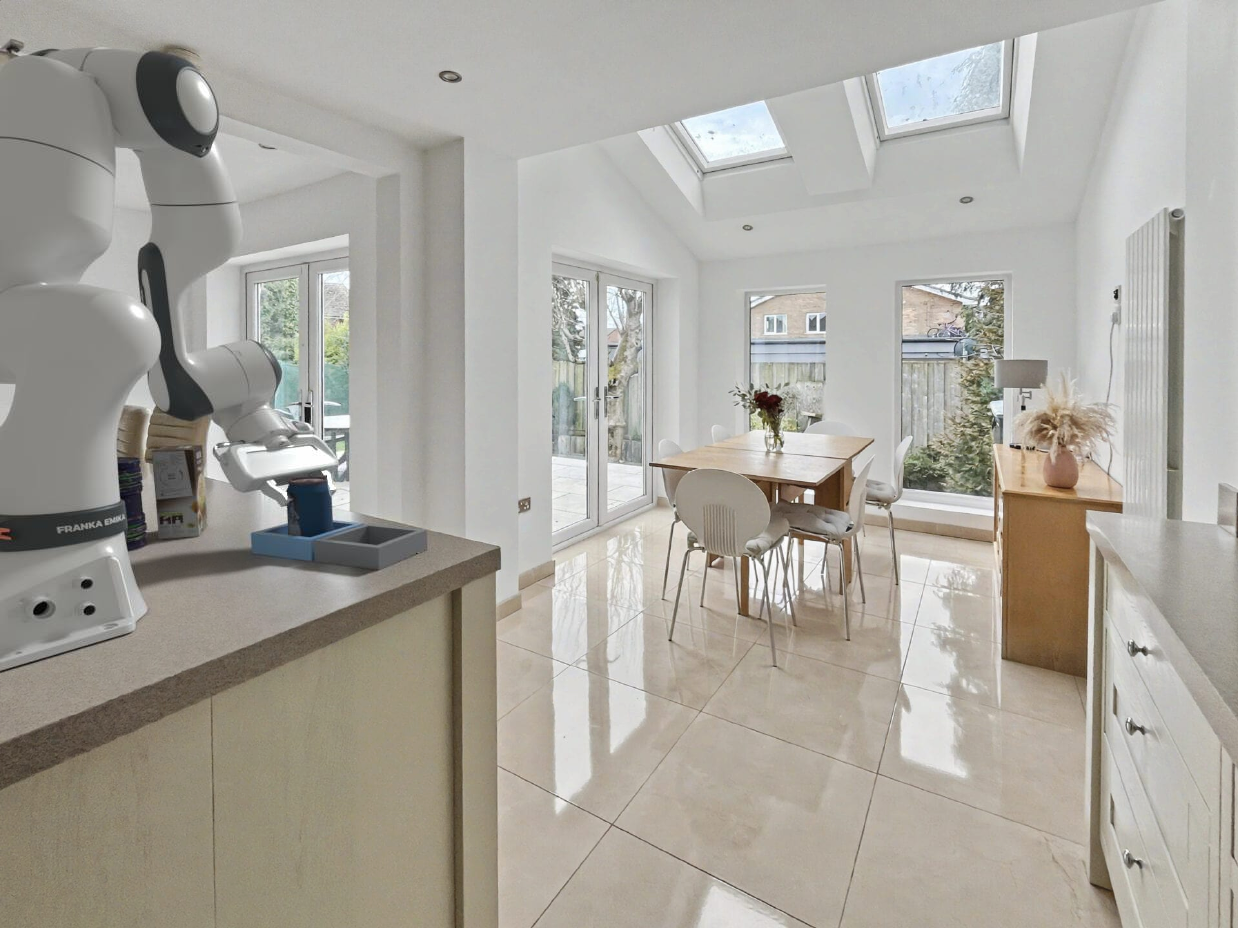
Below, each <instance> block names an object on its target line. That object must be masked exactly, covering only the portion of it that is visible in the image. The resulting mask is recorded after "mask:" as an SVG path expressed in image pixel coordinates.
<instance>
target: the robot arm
mask: <svg viewBox="0 0 1238 928" xmlns="http://www.w3.org/2000/svg"><path fill="white" fill-rule="evenodd" d="M218 104H219V103H218V100H217V97H216V95H215V92H214V90H213V88H212V86H211V84H210V82H209V81H208V79H207V78H206V77H205V76H204V75H203V74H202V72H201V71H200V70H199V69H198V68H197V67H196V65H194V64H193V63H192V62H191V61H190V60H188V59H186V58H183V57H181V56H178V55H175V54H171V53H167V52H163V51H159V50H158V51H157V50H151V51H148V52H145V51H138V50H131V49H119V48H109V47H104V46H95V47H94V46H91V47H90V46H89V47H88V46H87V47H78V48H77V47H76V48H67V49H59V48H46V49H41V50H37V51H35V52H33V53H30V54H27V55H18V56H16V57H12V58H10V59H8V60H7V61H6V62H5V63H4V64H3V65H2V67H1V68H0V385H15V386H14V387H15V389H14V394H13V399H12V402H11V406H10V408H9V411H8V413H7V416H6V418H5V420H4V421H3V422H2V425H0V672H1V671H4V670H7V669H10V668H11V669H12V668H13V667H17V666H20V665H24V664H27V663H30V662H34V661H37V660H42V659H45V658H48V657H51V656H54V655H59V654H62V653H65V652H68V651H72V650H75V649H78V648H82V647H85V646H89V645H92V644H95V643H98V642H103V641H105V640H108V639H112V638H116V637H119V636H123V635H127V634H128V633H131V632H133V631H135V630H136V628H137V624H136V623H137V621H138V620H139V619H141V618H142V617H143V616H144V615H145V614H146V613H147V612H148V605H147V604H146V602H145V600H144V598H143V596H142V594H141V592H140V588H139V587H138V584H137V582H136V578H135V577H136V576H135V575H134V572H133V567H132V564H131V561H130V556H129V552H128V550H127V545H126V540H127V532H128V525H127V515H126V508H125V501H123V500H122V499H120V492H119V480H118V464H117V457H118V449H117V446H118V445H117V442H118V440H117V439H118V431H119V426H120V422H121V416H122V414H123V410H124V408H125V405H126V403H127V400H128V397H129V396H130V394H131V392H132V390H133V388H134V387H135V385H136V384H137V383H138V381H140V380H141V379H142V377H144V376H145V375H146V374H147V377H146V378H147V385H148V390H149V394H150V396H151V398H152V401H153V403H154V404H155V406H156V407H157V409H158V410H159V411H160V412H161V413H162V414H163V413H164V414H165V415H167V416H169V417H173V418H175V419H178V420H182V421H186V422H195V421H197V420H200V419H201V418H205V417H206V416H208V417H209V418H210V419H211V421H212V422H213V423H214V424H216V425H217V426H218V427H220V428H221V429H222V430H223V432H224V436H225V438H226V440H228V442H224V441H222V442H217V443H216V445H214V446H213V448H212V455H213V457H215V459H216V460H217V461H218V462H219V466H220V468H221V471H222V473H223V475H225V477H226V479H227V481H228V483H230V485H231V487H232V488H233V489H234V490H235V491H238V492H240V493H241V494H244V493H250V492H255V491H260V492H261V493H262V494H263V495H265V496H267V497H268V498H271V499H272V500H274V501H276V502H277V504H278V505H279V506H280V507H281V508H283V507H284V508H285V507H287V506H289V505H291V503H292V502H293V501H294V498H293V497H292V496H291V494H290V493H289V492H286V491H283V490H282V489H281V488H279V487H282V486H287V485H288V486H289V484H290V480H291V479H295V478H301V477H324V478H327V482H328V484H329V485H330V487H331V491H332V496H334V494H335V493H336V492H337V488H336V487H335V486H334V484H333V483H332V475H333V474H334V473H335V471H336V470H337V469H338V468H339V466H340V463H339V459H338V457H337V455H336V454H335V453H334V452H333V450H332V449H331V448H330V447H329V446H328V444H327V443H326V442H325V441H324V440H323V439H322V438H321V437H319V436H317V435H316V434H314V432H315V429H314V427H313V426H312V425H311V424H310V423H308V422H304V421H298V420H295V419H291V418H288V417H286V416H283V415H282V416H281V415H279V414H278V413H277V412H276V411H275V410H274V409H273V408H272V407H271V406H270V403H269V401H270V400H272V399H273V398H274V396H275V395H276V393H277V390H278V388H279V386H280V384H281V382H282V378H283V370H282V366H281V364H280V363H279V361H278V359H277V358H276V356H275V355H274V354H273V352H272V351H271V350H269V348H267V346H265V345H264V344H262V343H260V342H258V341H256V340H253V339H244V340H238V341H234V342H229V343H224V344H221V345H218V346H215V347H210V348H206V349H205V348H204V349H201V350H197V351H196V350H195V351H192V352H187V344H186V343H187V342H186V337H185V336H186V334H185V327H184V318H183V308H182V302H183V299H184V296H185V294H186V292H187V290H189V288H190V287H191V286H192V285H193V284H194V283H195V282H197V281H198V280H199V279H201V278H203V276H205V275H207V274H209V273H210V272H212V271H214V270H215V269H218V268H219V267H221V266H222V265H224V264H225V263H227V262H228V261H229V260H230V259H232V257H233V256H234V255H235V254H236V252H237V251H238V250H239V248H240V247H241V244H242V242H243V239H244V227H243V219H242V215H241V214H242V213H241V210H240V207H239V204H238V203H239V202H238V199H237V196H236V192H235V188H234V185H233V182H232V179H231V176H230V172H229V170H228V167H227V165H226V162H225V159H224V157H223V155H222V151H221V150H220V148H219V146H218V143H217V140H216V138H217V134H218V132H219V131H218V130H219V125H220V109H219V108H220V107H219V105H218ZM116 148H119V149H120V148H121V149H128V150H132V151H133V153H134V154H135V155H136V157H137V158H138V160H139V166H140V172H141V177H142V181H143V186H144V189H145V194H146V197H147V200H148V203H149V208H150V211H151V230H150V231H151V232H150V236H149V238H148V241H147V243H146V244H144V245H143V246H142V247H140V248H139V250H138V254H137V277H138V278H137V279H138V280H137V281H138V288H139V297H140V298H139V299H140V300H138V299H137V298H135V297H134V296H132V295H129V294H127V293H123V292H120V291H116V290H112V289H109V288H105V287H99V286H95V285H90V284H83V283H79V282H80V280H81V279H82V277H83V275H84V274H85V272H86V270H87V269H88V268H90V266H91V265H92V264H93V263H94V262H95V261H97V260H98V259H99V258H101V257H102V256H103V255H104V254H105V253H106V252H107V250H108V249H109V247H110V245H111V243H112V239H113V237H112V236H113V223H114V222H113V221H114V205H115V191H116V171H117V167H116V166H117V164H116V163H117V162H116V160H117V159H116Z"/></svg>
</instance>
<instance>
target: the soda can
mask: <svg viewBox="0 0 1238 928" xmlns="http://www.w3.org/2000/svg"><path fill="white" fill-rule="evenodd" d="M285 492H289V493H290V494H291V496H292V497H293V498H294V501H293V502H292V503H291V505H289V506H286V513H287V523H288V535H293V536H302V537H314V536H317V535H320V534H324V533H327V532H330V531H333V519H334V518H333V517H334V516H333V495H332V491H331V487H330V485H329V484H328V482H327V478H324V477H301V478H295V479H291V480H290V484H288V486H287V488H286V491H285Z"/></svg>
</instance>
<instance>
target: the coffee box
mask: <svg viewBox="0 0 1238 928" xmlns="http://www.w3.org/2000/svg"><path fill="white" fill-rule="evenodd" d="M151 458H152V469H153V470H152V472H153V483H154V495H155V505H156V507H155V508H156V518H157V532H158V539H159V540H165V539H166V540H167V539H180V538H195V537H200V536H201V534H202V533H203V532H204V531H205V530H206V528H208V526H209V523H208V521H209V520H208V507H207V494H206V493H207V492H206V480H205V479H206V478H205V468H204V467H205V465H204V451H203V444H189V445H188V444H187V445H186V444H185V445H166V446H165V445H164V446H162V447H158V448H156V449H153V450H151Z"/></svg>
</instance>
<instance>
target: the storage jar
mask: <svg viewBox="0 0 1238 928" xmlns="http://www.w3.org/2000/svg"><path fill="white" fill-rule="evenodd" d="M117 464H118V480H119V492H120V499H122V500H123V501H125V508H126V515H127V525H128V532H127V540H126V545H127V550H128V553H130V552H133V551H137V550H140V549H143V548H144V547H146V546H148V540H147V535H148V533H147V530H148V525H147V522H146V514H145V512H144V510H143V509H144V507H143V498H142V497H143V496H142V491H143V490H144V489H143V488H144V485H143V482H142V481H143V473H141V472H142V469H141V466H140V464H141V459H140V457H132V456H131V457H130V456H129V457H128V456H117Z"/></svg>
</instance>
